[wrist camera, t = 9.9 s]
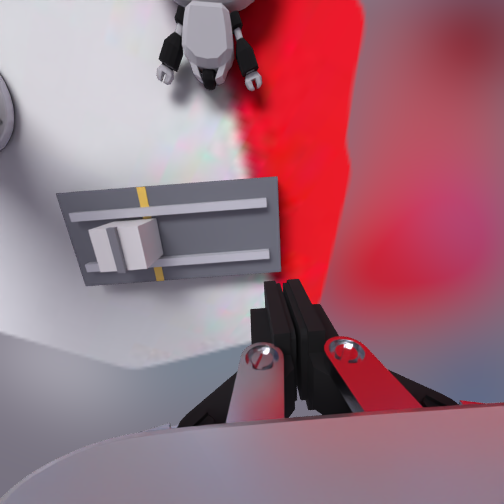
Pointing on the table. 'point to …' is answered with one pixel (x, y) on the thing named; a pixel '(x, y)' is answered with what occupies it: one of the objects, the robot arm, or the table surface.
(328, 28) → the table surface
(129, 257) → the fader tab
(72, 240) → the grey slider rail base
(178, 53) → the robot toy
